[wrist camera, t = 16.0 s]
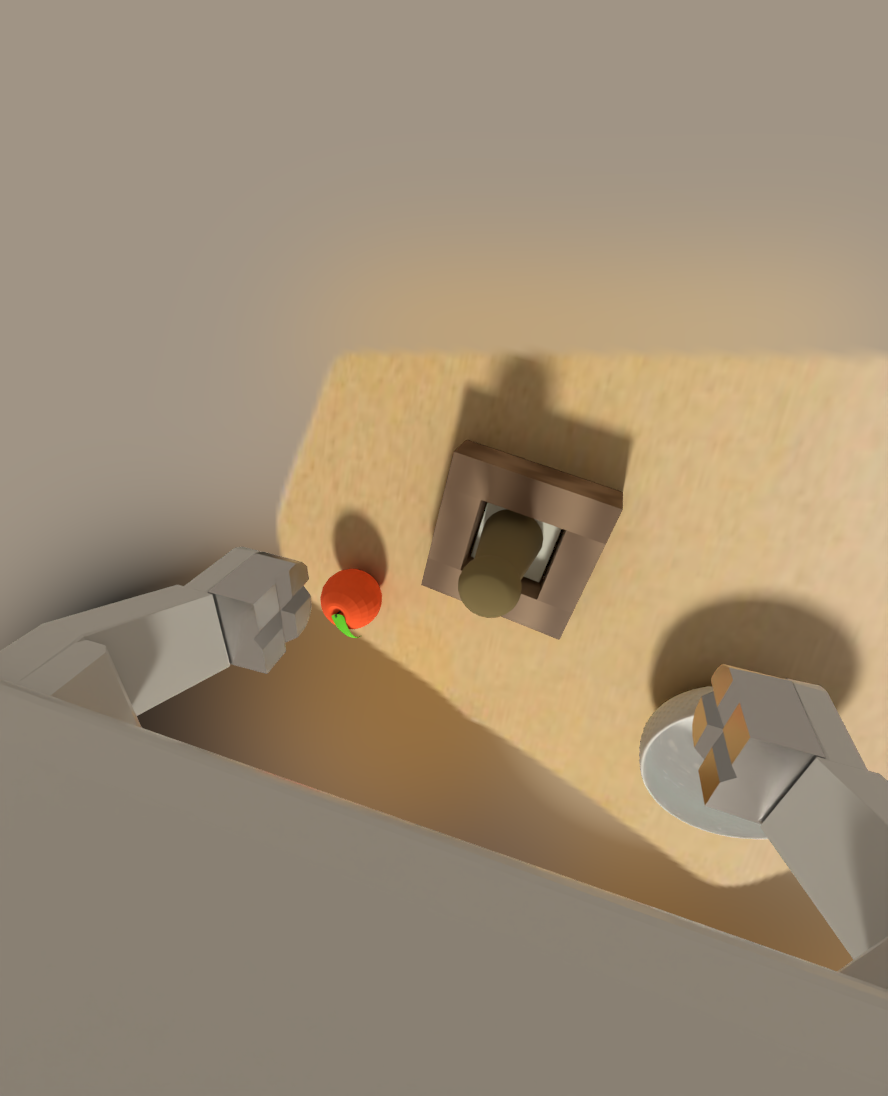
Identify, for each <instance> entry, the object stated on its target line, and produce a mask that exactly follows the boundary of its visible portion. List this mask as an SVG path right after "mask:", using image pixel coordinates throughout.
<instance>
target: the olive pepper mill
mask: <svg viewBox="0 0 888 1096" xmlns="http://www.w3.org/2000/svg"><path fill="white" fill-rule="evenodd" d="M542 544H543V534H542V530H541V528H540V526H539V524H538V523H537V521H536V520H535V519H533V518H530V517H528V516H525V515H522V514H519V513H516V512H514V511H511V510H508V509H506V510H500V511H498V512H496V513H494V514H492V515H491V516H490V517H489V518H488V519H487V520H486V523H485V525H484V527H483V530H482V533H481V537H480V540H479V544H478V548H477V551H476V555H475V558H474V559H473V560H472V561H470V562H469V563H468V564H467V565H466V566H465V567H464V568H463V570H462V572H461V574H460V576H459V580H458V592H459V595H460V598H461V600H462V602H463V603H464V605H465V606H466V607H467V608H468V609H469V610H470V611H471V612H473V613H475V614H477V615H479V616H482V617H486V618H496V617H500V616H503V615H506V614H507V613H509V612H510V611H511V610H512V609H513V608H514V607H515V606H516V604H517V603H518V601H519V599H520V596H521V590H522V584H521V579H522V578H523V576H524V575H525V573H526V572H527V570H528V569H529V567H530V566H531V564H532V563H533V561H534V560H535V558H536V557H537V555H538V553H539V552H540V550H541V548H542Z"/></svg>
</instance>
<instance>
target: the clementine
mask: <svg viewBox="0 0 888 1096" xmlns="http://www.w3.org/2000/svg"><path fill="white" fill-rule="evenodd" d="M381 602H382V593H381V590H380V587H379V585H378V583H377V581H376V580H375V579H374V578H373V577H372V576H371V575H370V574H368V573H366V572H364V571H361V570H358V569H346V570H342V571H339V572H337V573H336V574H334V575H333V576H332V577H330V578H329V579H328V581H327V582H326V584H325V585H324V587H323V590H322V594H321V606H322V610H323V613H324V614H325V616H326V617H327V619H328V620H329V621H330V622H332V623H333V624H334V625H336V626H337V627H338V629H339V630H340V631H341V632H342V633H344V634H345V635H347V636H349V637H353V638H358V637H354V636H353V635H352V634H351V632H350V631H349V629H357V628H361V627H363V626H365V625H367V624H369V623H370V622H371V621H372V620H373V619H374V618H375V617H376V616H377V614H378V612H379V610H380V607H381ZM359 637H360V636H359Z"/></svg>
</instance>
